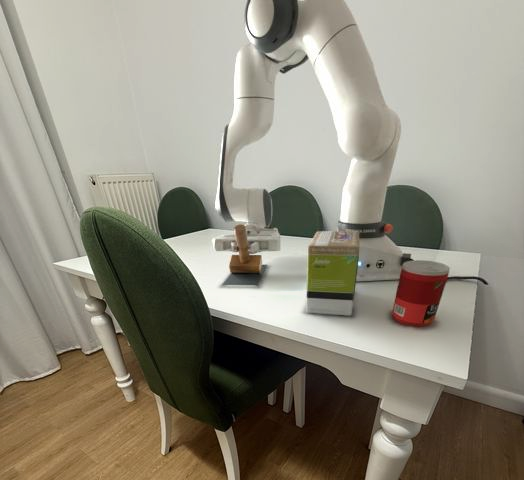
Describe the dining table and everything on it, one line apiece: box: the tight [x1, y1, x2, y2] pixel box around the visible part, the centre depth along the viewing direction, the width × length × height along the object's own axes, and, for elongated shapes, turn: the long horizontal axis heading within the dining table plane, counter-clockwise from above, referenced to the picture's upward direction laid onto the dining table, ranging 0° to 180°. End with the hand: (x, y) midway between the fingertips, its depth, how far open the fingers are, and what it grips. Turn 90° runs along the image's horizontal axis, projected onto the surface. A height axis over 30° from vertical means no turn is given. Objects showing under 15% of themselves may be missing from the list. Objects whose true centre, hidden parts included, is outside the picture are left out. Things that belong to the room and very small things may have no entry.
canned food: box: [391, 259, 451, 328], centre depth 57 cm, size 8×8×11 cm
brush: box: [228, 224, 263, 275], centre depth 82 cm, size 9×5×14 cm, turn 81°
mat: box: [221, 264, 268, 286], centre depth 88 cm, size 10×20×1 cm, turn 172°
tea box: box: [305, 230, 360, 316], centre depth 65 cm, size 15×10×15 cm, turn 164°
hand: (242, 249), depth 81 cm, fingers closed on brush, 3 cm apart
